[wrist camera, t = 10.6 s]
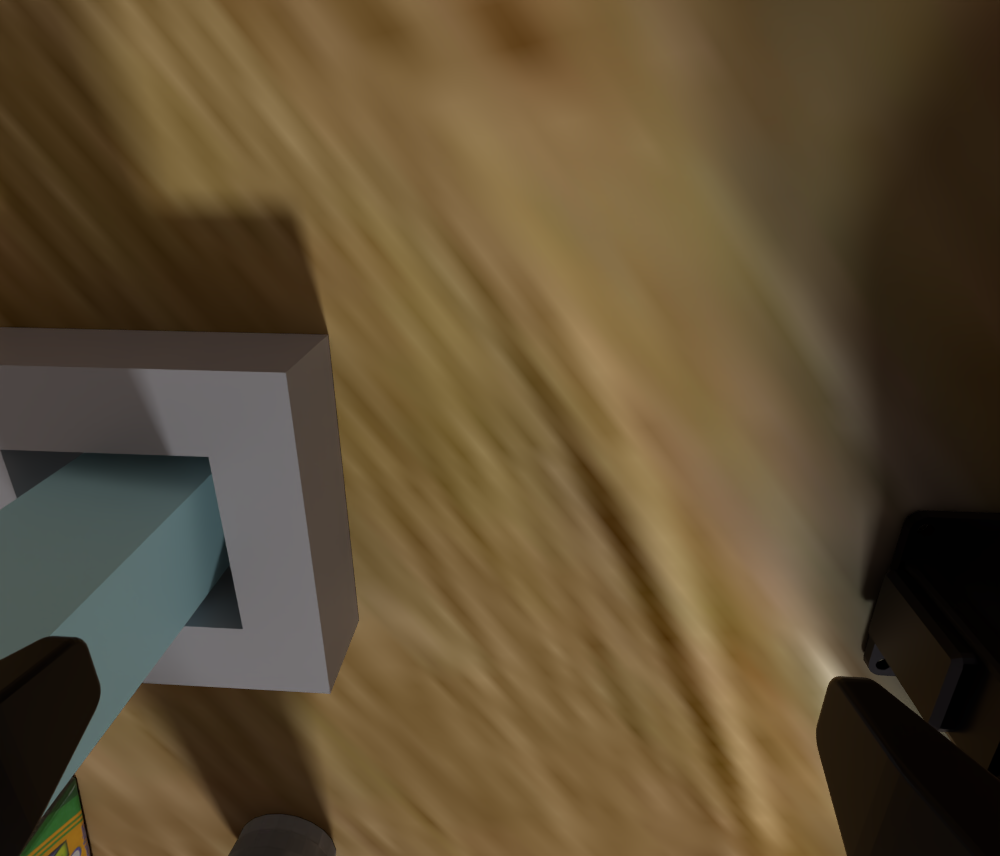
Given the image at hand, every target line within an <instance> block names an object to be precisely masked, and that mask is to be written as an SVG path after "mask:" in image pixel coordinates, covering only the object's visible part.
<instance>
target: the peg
mask: <svg viewBox="0 0 1000 856" xmlns="http://www.w3.org/2000/svg"><path fill="white" fill-rule="evenodd" d="M229 565H230V562H229V557H228V552H227V547H226V542H225V537H224V532H223V527H222V522H221V517H220V512H219V507H218V502H217V497H216V492H215V487H214V482H213V477H212V472H211V467H210V462H209V457H197V456H169V455H140V454H111V453H83V454H81V455H80V456H78V457H77V458H76V459H74V460H73V461H71V462H70V463H68V464H67V465H65V466H64V467H62V468H61V469H59V470H58V471H56V472H55V473H53V474H52V475H51V476H49V477H48V478H46V479H45V480H43V481H42V482H40V483H39V484H37V485H36V486H34V487H33V488H31V489H30V490H29V491H27V492H26V493H24V494H23V495H21V496H20V497H18V498H17V499H15V500H14V501H12V502H11V503H9V504H8V505H6V506H5V507H4V508H2V509H1V510H0V660H1V659H3V658H5V657H7V656H8V655H10V654H12V653H14V652H16V651H18V650H20V649H22V648H24V647H26V646H28V645H30V644H31V643H33V642H35V641H37V640H39V639H41V638H44V637H47V636H68V637H78V638H81V639H82V640H83V641H85V642H86V644H87V646H88V648H89V652H90V655H91V658H92V661H93V664H94V667H95V670H96V673H97V676H98V679H99V682H100V685H101V695H100V700H99V704H98V706H97V709H96V711H95V713H94V715H93V717H92V719H91V721H90V723H89V725H88V727H87V729H86V731H85V733H84V735H83V737H82V739H81V740H80V742H79V744H78V746H77V748H76V750H75V752H74V754H73V756H72V758H71V760H70V762H69V764H68V766H67V768H66V770H65V772H64V774H63V776H62V778H61V780H60V782H59V784H58V786H57V788H56V790H55V792H54V794H53V796H52V798H51V800H50V802H49V804H48V806H47V808H46V810H45V812H46V811H47V810H48V808H49V807H50V806H51V804H52V803H53V802H54V800H55V799H56V797H57V796H58V795H59V793H60V792H61V791H62V789H63V788H64V787H65V785H66V784H67V783H68V781H69V780H70V779H71V777H72V776H73V775H74V773H75V772H76V771H77V769H78V768H79V767H80V765H81V764H82V763H83V761H84V760H85V759H86V757H87V756H88V754H89V753H90V752H91V750H92V749H93V748H94V746H95V745H96V744H97V742H98V741H99V740H100V738H101V737H102V736H103V734H104V733H105V732H106V730H107V729H108V728H109V726H110V725H111V724H112V722H113V721H114V720H115V718H116V717H117V716H118V714H119V713H120V712H121V710H122V709H123V707H124V706H125V705H126V703H127V702H128V701H129V699H130V698H131V697H132V695H133V694H134V693H135V691H136V690H137V689H138V687H139V686H140V685H141V683H142V682H143V681H144V679H145V678H146V677H147V675H148V674H149V673H150V671H151V670H152V669H153V667H154V666H155V664H156V663H157V662H158V660H159V659H160V658H161V656H162V655H163V654H164V652H165V651H166V650H167V648H168V647H169V646H170V644H171V643H172V642H173V640H174V639H175V638H176V636H177V635H178V634H179V632H180V631H181V630H182V628H183V627H184V626H185V624H186V623H187V622H188V620H189V619H190V617H191V616H192V615H193V613H194V612H195V611H196V609H197V608H198V607H199V605H200V604H201V603H202V601H203V600H204V599H205V597H206V596H207V595H208V593H209V592H210V591H211V589H212V588H213V587H214V585H215V584H216V583H217V581H218V580H219V579H220V577H221V576H222V574H223V573H224V572H225V570H226V569H227V568H228V566H229ZM45 812H44V813H43V815H44V814H45ZM43 815H42V816H43ZM41 818H42V817H41Z"/></svg>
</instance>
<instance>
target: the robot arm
mask: <svg viewBox="0 0 1000 856" xmlns="http://www.w3.org/2000/svg"><path fill="white" fill-rule="evenodd" d="M924 524H928V525H927V527H926V528H924V529H923V530H919V531H918V529H919V528H920V527H921V526H922V525H924ZM868 633H869V635H870V636H869V639H868V643H867V646H866V649H865V653H864V661H865V663H866V665H867V666H868V668H869V670H870V671H871V672H872V673H874V674H877V675H885V676H896V677H897V678H898V680H899V682H900V683H901V685H902V686H903V688H904V689H905V691H906V692H907V694H908V696H909V697H910V699H911V700H912V702H913V703H914V705H915V706H916V708H917V710H918V711H919V713H920V714H921V716H922V717H923V719H924V720H923V719H922V718H921V717H920V716H918V715H917V714H916V713H915V712H913V711H912V710H911V709H910V708H908V707H907V706H906V705H905V704H903V703H902V702H901V701H900V700H898V699H897V698H896V697H894V696H893V695H892V694H891V693H889V692H888V691H887V690H886V689H884V688H883V687H882V686H881V685H879V684H878V683H877V682H875V681H873V680H871V679H869V678H862V677H843V676H838V677H834V678H833V679H832V680H831V681H830V682H829V685H828V688H827V691H826V695H825V698H824V702H823V705H822V709H821V713H820V716H819V720H818V723H817V729H816V740H817V747H818V751H819V755H820V759H821V762H822V766H823V770H824V773H825V777H826V781H827V784H828V788H829V792H830V795H831V799H832V803H833V806H834V810H835V814H836V818H837V821H838V825H839V829H840V832H841V836H842V840H843V843H844V847H845V851H846V854H847V856H1000V513H978V512H951V511H917V512H915V513H912V514H911V515H909V516H908V517H907V518H906V520H905V521H904V523H903V527H902V530H901V533H900V536H899V540H898V543H897V546H896V550H895V553H894V556H893V560H892V563H891V566H890V570H889V571H888V572H887V574H886V575H885V576H884V579H883V583H882V586H881V589H880V593H879V596H878V600H877V603H876V606H875V610H874V613H873V616H872V620H871V623H870V626H869V630H868ZM881 659H883V660H882V661H879V660H881ZM100 695H101V685H100V682H99V679H98V676H97V673H96V670H95V667H94V664H93V661H92V658H91V655H90V652H89V648H88V646H87V644H86V642H85V641H83V640H82V639H81V638H78V637H68V636H47V637H44V638H41V639H39V640H37V641H35V642H33V643H31V644H30V645H28V646H26V647H24V648H22V649H20V650H18V651H16V652H14V653H12V654H10V655H8V656H7V657H5V658H3V659H1V660H0V856H20V854H21V852H22V851H23V849H24V847H25V846H26V844H27V842H28V841H29V839H30V837H31V835H32V834H33V832H34V830H35V828H36V826H37V825H38V823H39V821H40V819H41V817H42V815H43V813H44V812H45V810H46V808H47V806H48V804H49V802H50V800H51V798H52V796H53V794H54V792H55V790H56V788H57V786H58V784H59V782H60V780H61V778H62V776H63V774H64V772H65V770H66V768H67V766H68V764H69V762H70V760H71V758H72V756H73V754H74V752H75V750H76V748H77V746H78V744H79V742H80V740H81V739H82V737H83V735H84V733H85V731H86V729H87V727H88V725H89V723H90V721H91V719H92V717H93V715H94V713H95V711H96V709H97V706H98V704H99V700H100ZM940 732H945V733H946V734H947V736H948V737H949V739H950V740H951V741H950V740H949V739H947V738H946V737H945V736H944V735H942V734H941V733H940Z"/></svg>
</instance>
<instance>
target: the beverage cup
mask: <svg viewBox="0 0 1000 856" xmlns="http://www.w3.org/2000/svg"><path fill="white" fill-rule="evenodd" d="M335 855H336V849H335V847H334V844H333V841H332V840H331V838H330V837H329V836H328V835H327V834H326V833H325V832H324V830H322V829H321V828H319V827H318V826H316V825H315V824H313V823H312V822H309V821H307V820H304V819H301V818H299V817H296V816H290V815H284V814H271V815H264V816H261V817H257V818H254V819H253V820H251V821H250V822H249V823H247V824H246V825H245V826H244V828H243V830H242V832H241V834H240V836H239V838H238V840H237V841H236V843H235V845H234V847H233V848H232V850H231V852H230V854H229V855H228V856H335Z"/></svg>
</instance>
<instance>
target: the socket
mask: <svg viewBox="0 0 1000 856" xmlns="http://www.w3.org/2000/svg"><path fill="white" fill-rule="evenodd" d="M83 453H111V454H140V455H169V456H197V457H209V462H210V467H211V472H212V477H213V482H214V487H215V492H216V497H217V502H218V507H219V512H220V517H221V522H222V527H223V532H224V537H225V542H226V547H227V552H228V557H229V562H230V565H229V566H228V568H227V569H226V570H225V572H224V573H223V574H222V576H221V577H220V579H219V580H218V581H217V583H216V584H215V585H214V587H213V588H212V589H211V591H210V592H209V593H208V595H207V596H206V597H205V599H204V600H203V601H202V603H201V604H200V605H199V607H198V608H197V609H196V611H195V612H194V613H193V615H192V616H191V617H190V619H189V620H188V622H187V623H186V624H185V626H184V627H183V628H182V630H181V631H180V632H179V634H178V635H177V636H176V638H175V639H174V640H173V642H172V643H171V644H170V646H169V647H168V648H167V650H166V651H165V652H164V654H163V655H162V656H161V658H160V659H159V660H158V662H157V663H156V664H155V666H154V667H153V669H152V670H151V671H150V673H149V674H148V675H147V677H146V678H145V679H144V681H143V682H142V683H153V684H170V685H188V686H205V687H223V688H240V689H258V690H275V691H293V692H310V693H328V694H330V693H331V690H332V688H333V685H334V683H335V680H336V678H337V675H338V672H339V670H340V667H341V665H342V662H343V660H344V657H345V655H346V652H347V650H348V647H349V644H350V642H351V639H352V637H353V634H354V632H355V629H356V627H357V624H358V621H359V618H358V608H357V599H356V590H355V580H354V571H353V562H352V553H351V543H350V534H349V525H348V515H347V506H346V497H345V488H344V478H343V469H342V460H341V450H340V441H339V432H338V422H337V413H336V404H335V395H334V385H333V376H332V367H331V357H330V348H329V339H328V335H320V334H276V333H232V332H188V331H144V330H101V329H57V328H13V327H0V510H1V509H2V508H4V507H5V506H6V505H8V504H9V503H11V502H12V501H14V500H15V499H17V498H18V497H20V496H21V495H23V494H24V493H26V492H27V491H29V490H30V489H31V488H33V487H34V486H36V485H37V484H39V483H40V482H42V481H43V480H45V479H46V478H48V477H49V476H51V475H52V474H53V473H55V472H56V471H58V470H59V469H61V468H62V467H64V466H65V465H67V464H68V463H70V462H71V461H73V460H74V459H76V458H77V457H78V456H80V455H81V454H83Z"/></svg>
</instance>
